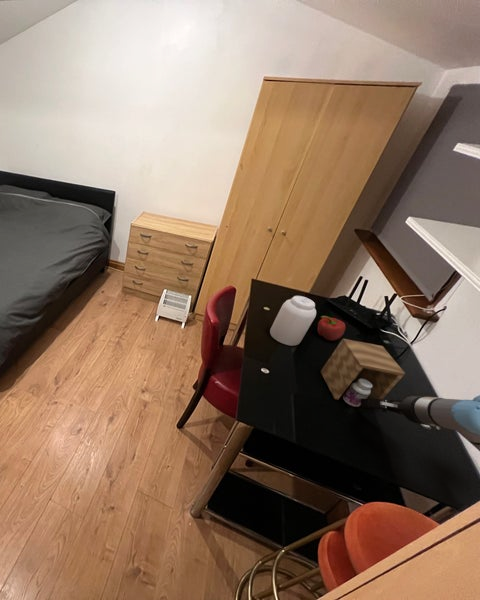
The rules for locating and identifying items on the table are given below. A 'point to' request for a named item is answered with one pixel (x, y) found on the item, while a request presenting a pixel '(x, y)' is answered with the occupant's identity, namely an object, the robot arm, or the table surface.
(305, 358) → the table surface
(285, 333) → the white jar
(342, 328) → the vegetable
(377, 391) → the cubby
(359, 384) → the pill bottle
